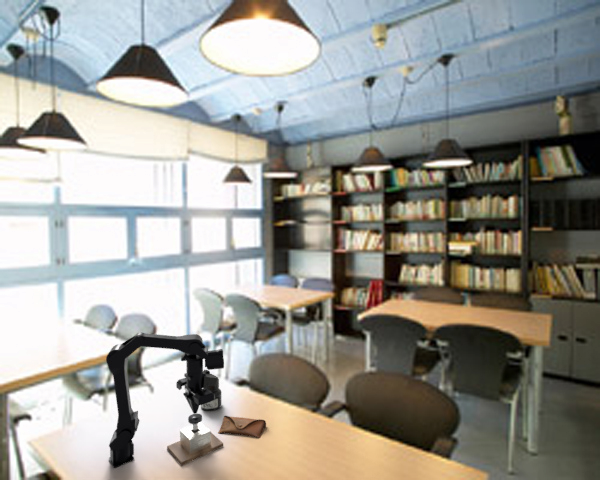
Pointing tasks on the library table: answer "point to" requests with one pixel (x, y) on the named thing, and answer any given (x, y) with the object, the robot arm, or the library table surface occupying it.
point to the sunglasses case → (242, 426)
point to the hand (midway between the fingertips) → (195, 413)
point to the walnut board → (185, 457)
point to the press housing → (195, 438)
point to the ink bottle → (217, 402)
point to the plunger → (195, 421)
